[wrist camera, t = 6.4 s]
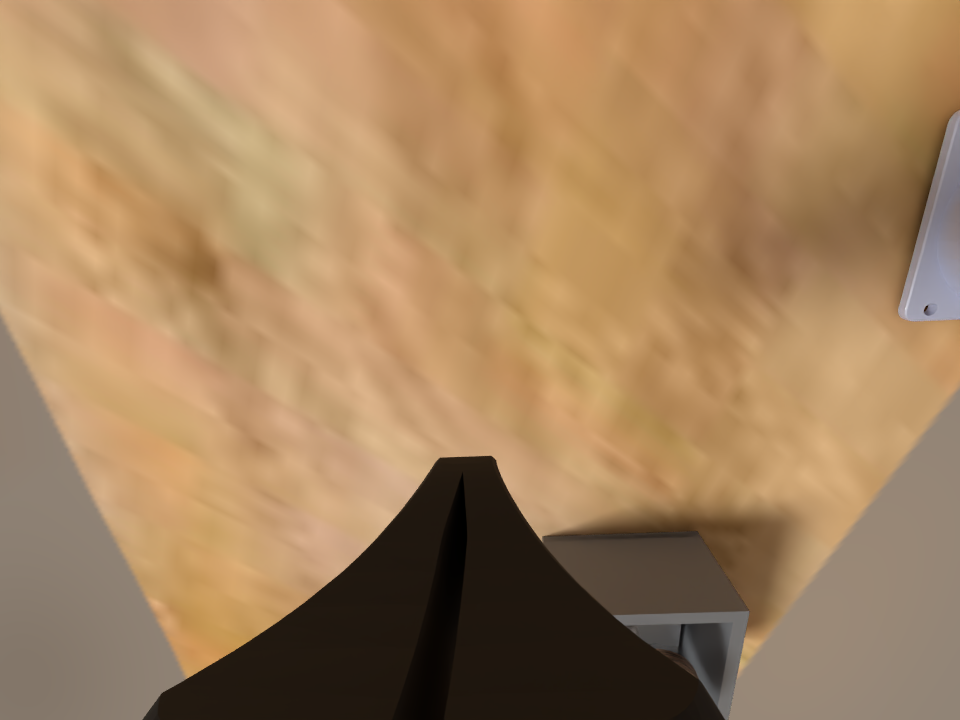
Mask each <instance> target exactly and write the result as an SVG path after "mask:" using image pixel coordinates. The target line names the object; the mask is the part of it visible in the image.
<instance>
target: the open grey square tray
mask: <svg viewBox="0 0 960 720" xmlns="http://www.w3.org/2000/svg"><path fill="white" fill-rule="evenodd" d="M542 543H543V544H544V545H545V546H546V548H547V549H548V550H549V551H550V553H551V554H552V555H553V556H554V557H555V558H556V560H557V561H558V562H559V563H560V564H561V565H562V566H563V567H564V569H565V570H566V571H567V572H568V573H569V574H570V575H571V576H572V577H573V578H574V579H575V580H576V581H577V582H578V583H579V584H580V585H581V586H582V587H583V588H584V589H585V590H586V591H587V592H588V593H589V594H590V595H591V596H592V597H594V598H595V599H596V600H597V601H598V602H599V603H600V604H601V605H602V606H603V607H604V608H605V609H606V610H608V611H609V612H610V613H611V614H612V615H613V616H614V617H615V618H616V619H617V620H619V621H620V622H621V623H622V624H624V625H625V626H628V625H662V624H681V631H680V638H679V646H678V653H677V654H679V655H681V656H683V657H684V658H686V659H687V660H688V661H689V662H690V663H691V664H692V666H693V667H694V669H695V671H696V673H697V675H698V678H699V680H700V681H701V682H702V684H703V685H704V687H705V688H706V690H707V691H708V693H709V694H710V696H711V698H712V699H713V701H714V702H715V704H716V706H717V707H718V709H719V710H720V712H721V714H722V715H723V717H724V719H725V720H728V719H729V714H730V709H731V704H732V699H733V694H734V688H735V684H736V678H737V673H738V668H739V663H740V658H741V653H742V648H743V643H744V637H745V632H746V627H747V622H748V617H749V612H750V611H749V609H748V608H747V606H746V605H745V603H744V602H743V600H742V599H741V597H740V596H739V594H738V593H737V591H736V590H735V588H734V587H733V585H732V584H731V582H730V580H729V579H728V577H727V576H726V574H725V573H724V571H723V570H722V568H721V567H720V565H719V564H718V562H717V561H716V559H715V558H714V556H713V555H712V553H711V552H710V550H709V548H708V547H707V545H706V544H705V542H704V541H703V539H702V538H701V536H700V535H699V533H698V532H697V531H686V532H658V533H629V534H600V535H571V536H542Z"/></svg>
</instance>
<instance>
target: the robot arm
mask: <svg viewBox="0 0 960 720" xmlns="http://www.w3.org/2000/svg"><path fill="white" fill-rule="evenodd" d="M927 305H928V308H927V310H926V311H925V312H924V309H925V307H926V306H927ZM898 314H899V316H900V317H901V318H902V319H905V320H909V321H935V320H958V319H960V110H958V111H957V112H955V113H954V114H953V115H952V117H951V118H950V120H949V122H948V125H947V129H946V133H945V136H944V140H943V144H942V148H941V151H940V155H939V159H938V163H937V166H936V170H935V174H934V178H933V181H932V185H931V189H930V193H929V196H928V200H927V204H926V208H925V211H924V215H923V219H922V223H921V226H920V230H919V234H918V238H917V241H916V245H915V249H914V253H913V256H912V260H911V264H910V268H909V271H908V275H907V279H906V283H905V286H904V290H903V294H902V298H901V301H900V305H899V309H898ZM143 720H725V719H724V717H723V715H722V714H721V712H720V710H719V709H718V707H717V706H716V704H715V702H714V701H713V699H712V698H711V696H710V694H709V693H708V691H707V690H706V688H705V687H704V685H703V684H702V682H701V681H700V680H699V679H697V678H696V677H695V676H693V675H692V674H690V673H689V672H688V671H686V670H685V669H683V668H682V667H680V666H679V665H678V664H676V663H675V662H673V661H672V660H671V659H669V658H668V657H666V656H665V655H663V654H662V653H661V652H659V651H658V650H656V649H655V648H654V647H652V646H651V645H649V644H648V643H646V642H645V641H644V640H642V639H641V638H640V637H638V636H637V635H636V634H635V633H633V632H632V631H631V630H630V629H628V628H627V627H626V626H625V625H624V624H622V623H621V622H620V621H619V620H617V619H616V618H615V617H614V616H613V615H612V614H611V613H610V612H609V611H608V610H606V609H605V608H604V607H603V606H602V605H601V604H600V603H599V602H598V601H597V600H596V599H595V598H594V597H592V596H591V595H590V594H589V593H588V592H587V591H586V590H585V589H584V588H583V587H582V586H581V585H580V584H579V583H578V582H577V581H576V580H575V579H574V578H573V577H572V576H571V575H570V574H569V573H568V572H567V571H566V570H565V569H564V567H563V566H562V565H561V564H560V563H559V562H558V561H557V560H556V558H555V557H554V556H553V555H552V554H551V553H550V551H549V550H548V549H547V548H546V546H545V545H544V544H543V543H542V541H541V540H540V539H539V537H538V536H537V535H536V533H535V532H534V531H533V529H532V528H531V526H530V525H529V524H528V522H527V521H526V519H525V518H524V516H523V515H522V513H521V512H520V510H519V508H518V507H517V505H516V503H515V502H514V500H513V498H512V497H511V495H510V493H509V491H508V489H507V487H506V485H505V483H504V481H503V479H502V477H501V475H500V472H499V470H498V466H497V463H496V460H495V459H494V458H493V457H492V456H475V457H447V458H439V459H438V460H437V461H436V462H435V464H434V466H433V467H432V469H431V470H430V472H429V473H428V475H427V476H426V478H425V479H424V481H423V482H422V483H421V485H420V486H419V488H418V489H417V490H416V492H415V493H414V494H413V496H412V497H411V498H410V500H409V501H408V502H407V503H406V505H405V506H404V507H403V509H402V510H401V511H400V512H399V514H398V515H397V516H396V517H395V518H394V519H393V521H392V522H391V523H390V524H389V525H388V526H387V527H386V528H385V530H384V531H383V532H382V533H381V534H380V535H379V536H378V538H377V539H376V540H375V541H374V542H373V543H372V544H371V545H370V546H369V547H368V548H367V549H366V550H365V551H364V552H363V553H362V554H361V555H360V556H359V557H358V558H357V559H356V560H355V561H354V562H353V563H351V564H350V565H349V566H348V567H347V568H346V569H345V570H344V571H343V572H342V573H341V574H339V575H338V576H337V577H336V578H334V579H333V580H332V581H331V582H329V583H328V584H327V585H326V586H325V587H323V588H322V589H321V590H320V591H318V592H317V593H316V594H315V595H313V596H312V597H311V598H310V599H308V600H307V601H306V602H305V603H303V604H302V605H301V606H299V607H298V608H297V609H295V610H294V611H293V612H291V613H290V614H288V615H287V616H286V617H284V618H283V619H281V620H280V621H279V622H277V623H276V624H274V625H273V626H271V627H270V628H268V629H267V630H265V631H264V632H262V633H261V634H259V635H258V636H256V637H255V638H253V639H252V640H250V641H249V642H247V643H246V644H244V645H243V646H241V647H239V648H238V649H236V650H235V651H233V652H231V653H230V654H228V655H226V656H225V657H223V658H221V659H220V660H218V661H216V662H215V663H213V664H211V665H210V666H208V667H206V668H204V669H203V670H201V671H199V672H198V673H196V674H194V675H193V676H191V677H189V678H188V679H186V680H184V681H183V682H181V683H179V684H177V685H176V686H174V687H172V688H170V689H168V690H167V691H165V692H163V693H162V694H161V695H160V697H159V698H158V699H157V701H156V702H155V703H154V705H153V706H152V707H151V709H150V710H149V712H148V713H147V714H146V716H145V717H144V719H143Z"/></svg>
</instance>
